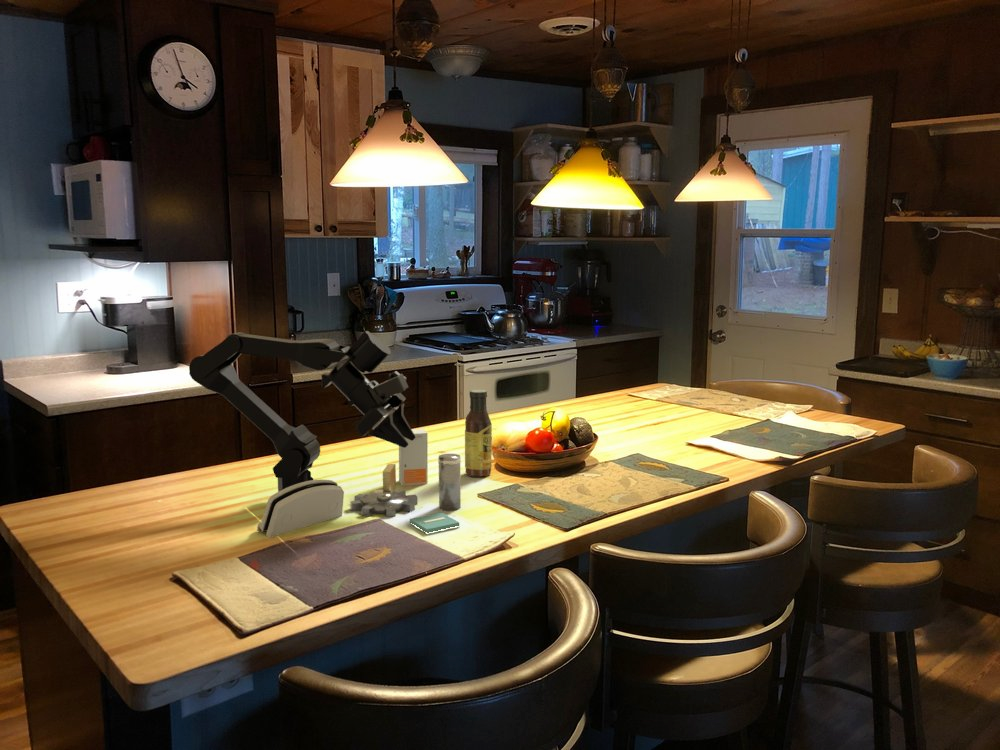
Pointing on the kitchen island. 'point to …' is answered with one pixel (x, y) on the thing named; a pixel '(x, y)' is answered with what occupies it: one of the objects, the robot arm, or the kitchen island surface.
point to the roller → (449, 482)
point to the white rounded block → (302, 506)
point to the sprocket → (385, 498)
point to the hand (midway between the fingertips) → (410, 442)
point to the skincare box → (414, 460)
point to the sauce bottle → (478, 436)
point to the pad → (434, 522)
